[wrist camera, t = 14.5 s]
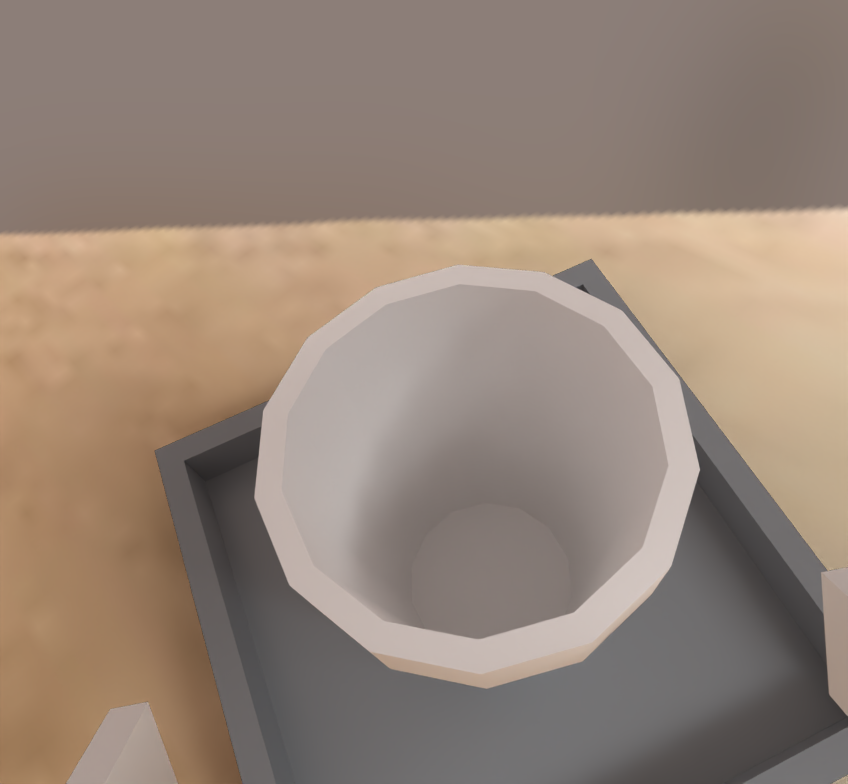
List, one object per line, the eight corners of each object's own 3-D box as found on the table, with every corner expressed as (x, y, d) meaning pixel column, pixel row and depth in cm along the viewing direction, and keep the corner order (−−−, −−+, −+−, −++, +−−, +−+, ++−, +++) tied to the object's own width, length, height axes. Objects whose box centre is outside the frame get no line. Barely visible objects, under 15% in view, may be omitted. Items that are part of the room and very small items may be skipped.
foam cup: (430, 437, 30) (375, 225, 18) (649, 516, 27) (742, 325, 16) (325, 654, 26) (173, 558, 15) (567, 773, 23) (611, 767, 12)
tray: (585, 299, 33) (591, 258, 30) (895, 729, 23) (942, 722, 21) (185, 478, 31) (154, 450, 28) (341, 1029, 21) (316, 1064, 19)
